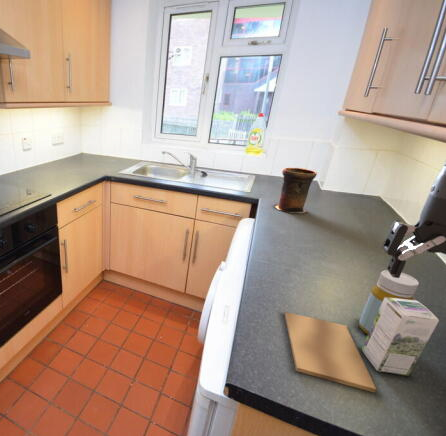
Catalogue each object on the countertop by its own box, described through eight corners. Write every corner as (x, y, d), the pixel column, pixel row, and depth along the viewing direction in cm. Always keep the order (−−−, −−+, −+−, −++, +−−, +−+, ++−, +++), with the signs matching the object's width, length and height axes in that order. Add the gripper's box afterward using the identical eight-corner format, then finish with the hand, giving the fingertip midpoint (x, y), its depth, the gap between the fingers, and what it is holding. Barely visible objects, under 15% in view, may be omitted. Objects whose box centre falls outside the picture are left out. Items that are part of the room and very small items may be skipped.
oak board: (344, 328, 71) (346, 325, 70) (374, 393, 55) (376, 389, 55) (284, 315, 75) (285, 311, 74) (296, 371, 59) (297, 367, 59)
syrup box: (390, 354, 64) (416, 298, 58) (409, 377, 58) (440, 318, 53) (360, 350, 65) (383, 294, 59) (377, 373, 59) (404, 314, 54)
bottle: (399, 347, 66) (426, 290, 60) (360, 335, 69) (383, 280, 63) (391, 328, 71) (415, 274, 66) (355, 317, 74) (375, 266, 69)
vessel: (297, 204, 157) (306, 167, 150) (312, 214, 144) (323, 173, 136) (269, 204, 157) (277, 166, 150) (282, 213, 144) (292, 173, 137)
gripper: (419, 196, 47) (383, 283, 53) (544, 209, 42) (489, 302, 48) (397, 185, 54) (367, 263, 60) (504, 195, 49) (460, 278, 55)
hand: (422, 280), depth 54 cm, fingers open, 8 cm apart
